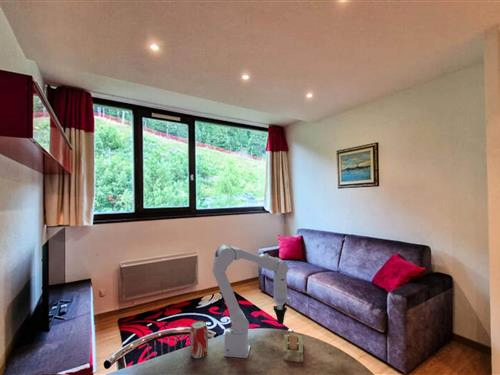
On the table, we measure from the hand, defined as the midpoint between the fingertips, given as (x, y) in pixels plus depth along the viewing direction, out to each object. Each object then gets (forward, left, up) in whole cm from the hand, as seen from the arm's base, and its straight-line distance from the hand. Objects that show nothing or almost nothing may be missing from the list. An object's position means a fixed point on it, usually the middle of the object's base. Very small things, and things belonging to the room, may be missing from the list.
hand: (281, 319), depth 108 cm
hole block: (+5, -5, -10) cm, 13 cm away
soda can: (-33, -12, -11) cm, 37 cm away
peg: (+5, -8, -10) cm, 14 cm away
